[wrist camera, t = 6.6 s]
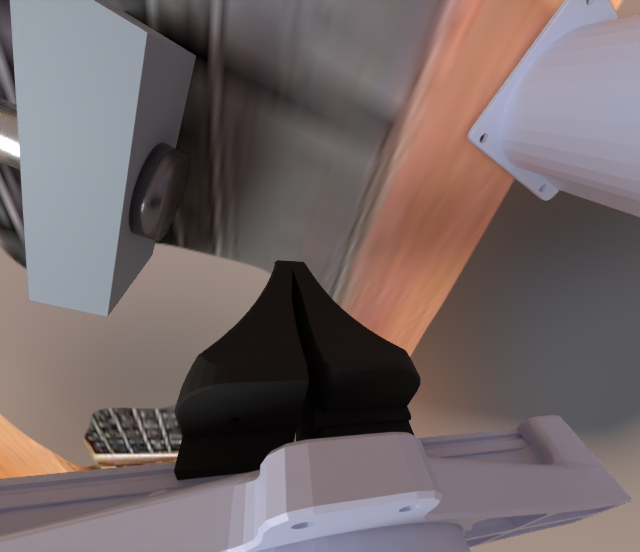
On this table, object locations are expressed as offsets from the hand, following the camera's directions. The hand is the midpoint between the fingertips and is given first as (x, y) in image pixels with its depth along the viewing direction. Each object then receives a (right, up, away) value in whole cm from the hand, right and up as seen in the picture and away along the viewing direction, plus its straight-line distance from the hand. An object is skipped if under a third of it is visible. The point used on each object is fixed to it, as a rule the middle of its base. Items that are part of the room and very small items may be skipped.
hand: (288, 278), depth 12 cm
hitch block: (-9, +7, +2) cm, 11 cm away
